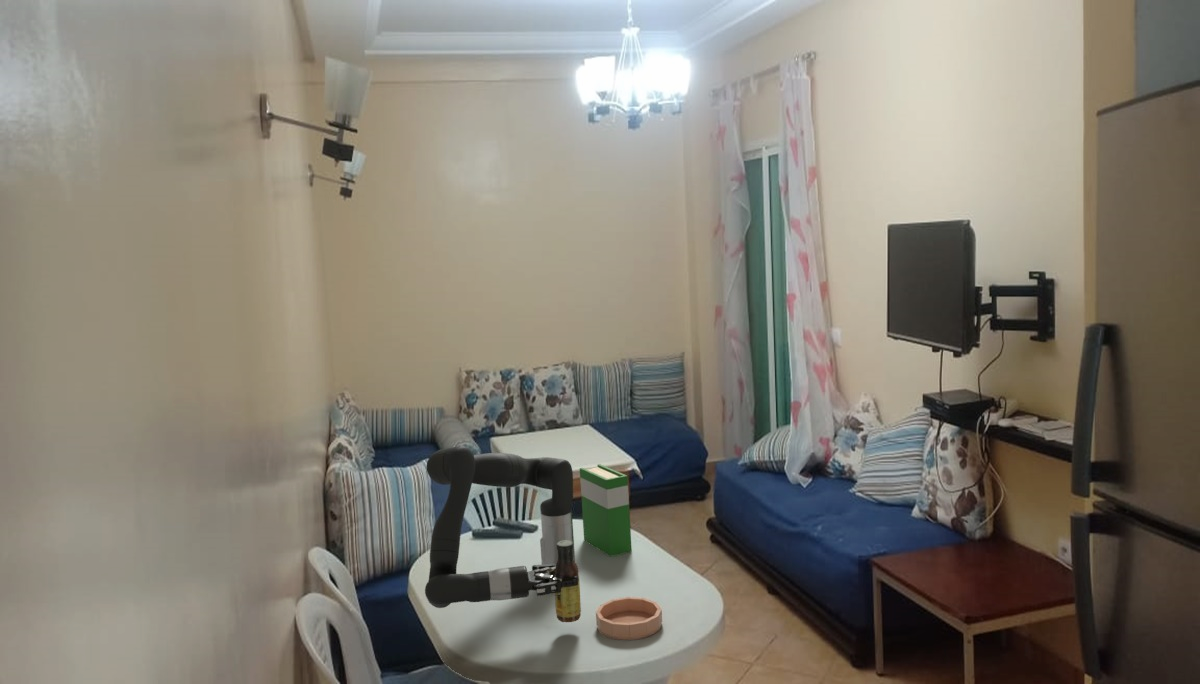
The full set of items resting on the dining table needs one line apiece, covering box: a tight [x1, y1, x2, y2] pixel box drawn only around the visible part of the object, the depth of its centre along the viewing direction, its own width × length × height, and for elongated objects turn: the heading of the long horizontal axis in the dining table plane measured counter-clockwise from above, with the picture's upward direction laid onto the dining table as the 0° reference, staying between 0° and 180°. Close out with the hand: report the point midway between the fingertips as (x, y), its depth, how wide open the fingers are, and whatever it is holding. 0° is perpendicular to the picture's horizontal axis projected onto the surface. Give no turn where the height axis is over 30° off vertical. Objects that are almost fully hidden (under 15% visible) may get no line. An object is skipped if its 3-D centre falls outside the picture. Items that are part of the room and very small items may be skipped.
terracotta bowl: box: [595, 596, 663, 641], centre depth 226 cm, size 16×16×4 cm
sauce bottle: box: [554, 540, 582, 623], centre depth 223 cm, size 6×6×20 cm
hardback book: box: [579, 463, 633, 557], centre depth 283 cm, size 18×7×24 cm, turn 28°
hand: (575, 575), depth 223 cm, fingers closed on sauce bottle, 6 cm apart
